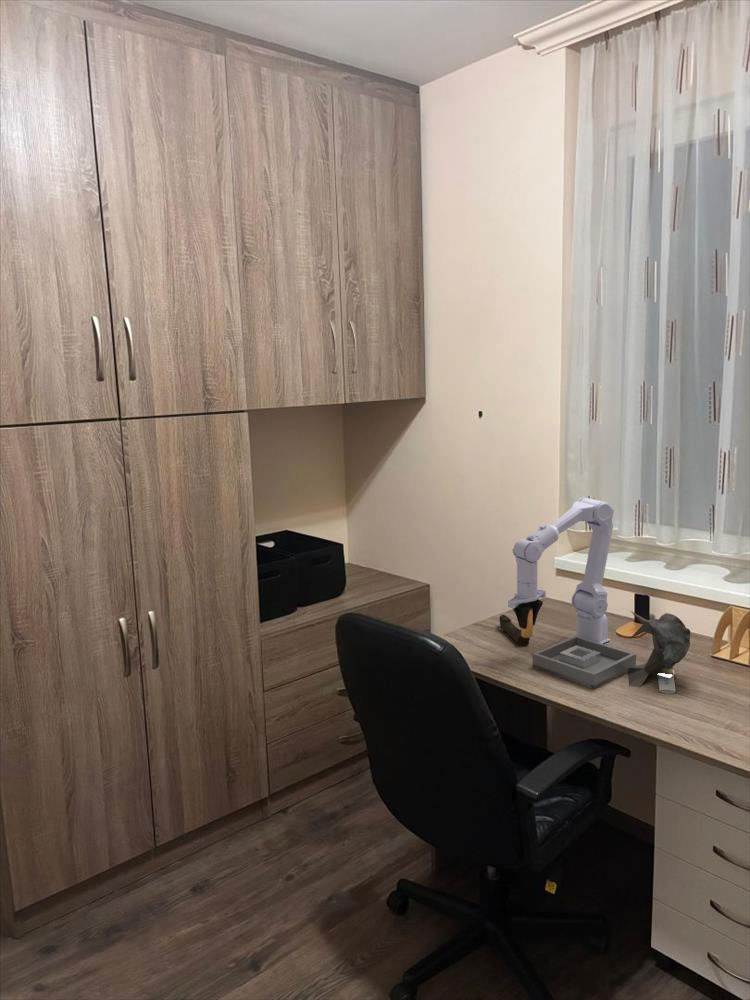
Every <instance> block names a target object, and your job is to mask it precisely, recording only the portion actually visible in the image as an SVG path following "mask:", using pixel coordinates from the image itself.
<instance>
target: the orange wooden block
mask: <svg viewBox="0 0 750 1000" xmlns="http://www.w3.org/2000/svg"><path fill="white" fill-rule="evenodd" d="M533 627H534V626H533V609H532V608H531V609H530V611H529V614H528V620H527V628H526V629H523V628H521V636H522V637H524V638H533V636H534V635H533V633H534V631H533V629H534V628H533Z"/></svg>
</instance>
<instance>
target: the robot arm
mask: <svg viewBox="0 0 750 1000" xmlns="http://www.w3.org/2000/svg"><path fill="white" fill-rule="evenodd" d="M614 511H615V509H614V508H613V507H612V506H611V504H610V503H609V502H608V501H605V500H604V501H602V500H598V499H594V498H589V497H587V496H583V497H582V496H581V497H580V498H578V500H576V501H574V502H573V503H572V506H571V508H569V510H567V511H566V512H565V513H564V514H563V515H561V516H560V517H559V518H558V519H556V520H555V521H554V522H552V524H549V523H545V524H540V526H539V528H538V529H537V530H536V531H534V532H532V533H531V534H529V535H527V537H526V538H520V539H519V540H517V541H516V542H515V544H514V547H513V548H512V549H511V550H512V554H513V555H514V557H515V562H516V592H514V596H513V597H512V598H511V599H509V600H508V601H507V607H508V608H510V609H512V610H513V612H514V614H515V616H516V619H517V620H516V621H517V623H518V628H519V629H520V628H523V629H526V628H527V620H528V614H529V611H530V609H531V608H532V609H533V627H534V626H535V625H536V621H537V617H538V614H539V612H540V609H541V608H542V606H543V604H544V603H543V602H544V601H543V600H541V598H546V590H543V589H538V561H540V559H541V557H542V555H543V553H544V551H545V550H546V549H548V548H549V547H551V546H552V545H553V544H555V543H556V542H557V541H558V540H559V538H560V537H559V536H560V535H561V534H562V533H563V532H565V531H566V530H568V529H569V528H571V527H573V526H575V524H578V523H580V522H586V523H587V524H588V526H589V527H590V529H591V530H592V531H591V532H592V534H591V539H590V544H589V550H588V555H587V561H586V565H585V570H584V575H583V576H584V577H583V579H582V581H581V582H580V583H578V584H576V587H575V591H574V592H573V594H572V597H571V604H572V607H573V608H574V609H575V613H576V636H578V637H581V638H585V639H588V640H591V641H595V642H598V643H601V644H605V643H608V642H609V641H610V640H611V639H610V638H608V630H609V629H608V626H609V625H608V624H609V621H608V616H607V615H606V612H607V609H608V598H607V597H608V592H607V590H606V589H605V587H604V586H603V581H604V576H605V572H606V565H607V562H608V561H607V560H608V556H609V555H608V554H609V551H610V550H609V549H610V546H611V545H610V544H611V539H612V535H613V528H614V527H613V526H614V525H613V524H614V523H613V517H614V513H615V512H614Z"/></svg>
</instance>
